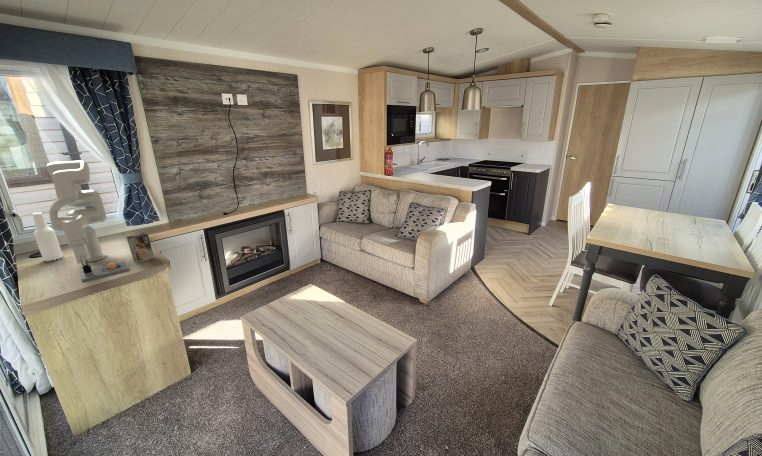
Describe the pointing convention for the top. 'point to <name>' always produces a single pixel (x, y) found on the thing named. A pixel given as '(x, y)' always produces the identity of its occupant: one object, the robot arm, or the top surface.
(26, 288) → the top surface
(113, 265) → the ball
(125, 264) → the deck
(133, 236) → the coffee box
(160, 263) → the top surface
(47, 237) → the alcohol
